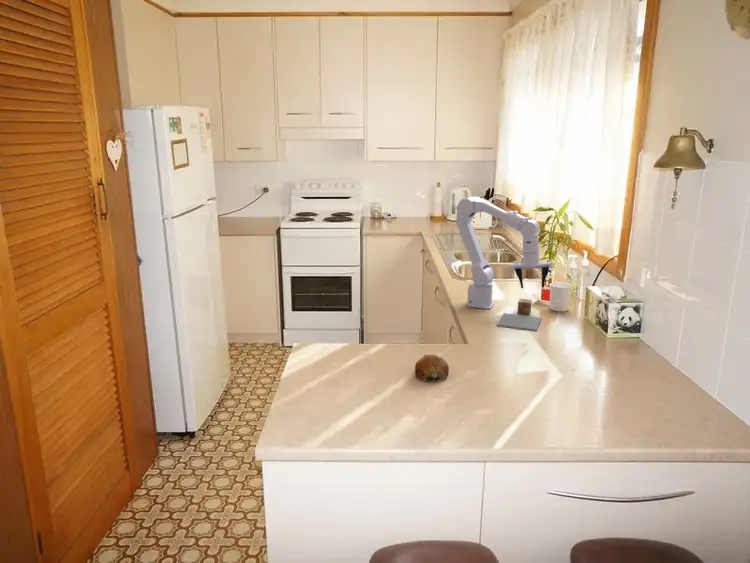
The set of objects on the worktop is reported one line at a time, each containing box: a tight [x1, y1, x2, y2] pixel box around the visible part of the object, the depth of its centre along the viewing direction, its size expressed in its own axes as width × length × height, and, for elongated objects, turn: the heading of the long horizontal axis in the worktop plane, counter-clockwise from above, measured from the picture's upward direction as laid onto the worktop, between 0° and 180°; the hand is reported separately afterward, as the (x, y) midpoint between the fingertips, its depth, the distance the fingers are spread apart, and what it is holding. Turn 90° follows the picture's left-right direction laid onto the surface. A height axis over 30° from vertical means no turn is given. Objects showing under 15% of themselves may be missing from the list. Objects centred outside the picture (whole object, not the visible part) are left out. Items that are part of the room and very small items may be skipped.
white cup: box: [549, 281, 572, 312], centre depth 223 cm, size 8×8×10 cm
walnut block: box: [516, 298, 532, 316], centre depth 219 cm, size 4×4×5 cm
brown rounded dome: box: [414, 354, 450, 382], centre depth 165 cm, size 10×10×8 cm
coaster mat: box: [496, 312, 542, 332], centre depth 209 cm, size 14×14×1 cm
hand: (532, 287), depth 216 cm, fingers open, 7 cm apart
